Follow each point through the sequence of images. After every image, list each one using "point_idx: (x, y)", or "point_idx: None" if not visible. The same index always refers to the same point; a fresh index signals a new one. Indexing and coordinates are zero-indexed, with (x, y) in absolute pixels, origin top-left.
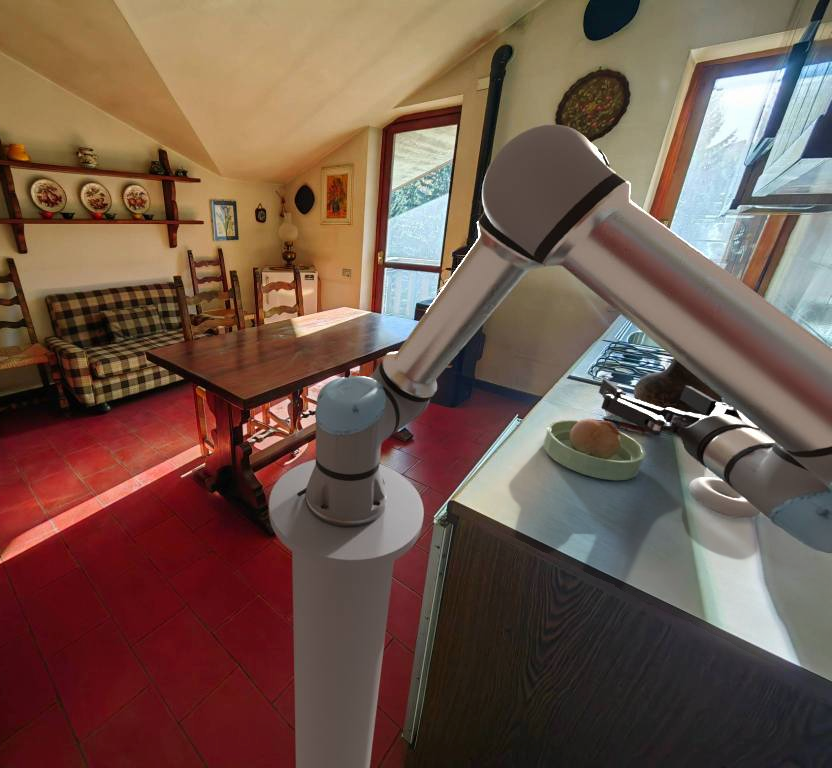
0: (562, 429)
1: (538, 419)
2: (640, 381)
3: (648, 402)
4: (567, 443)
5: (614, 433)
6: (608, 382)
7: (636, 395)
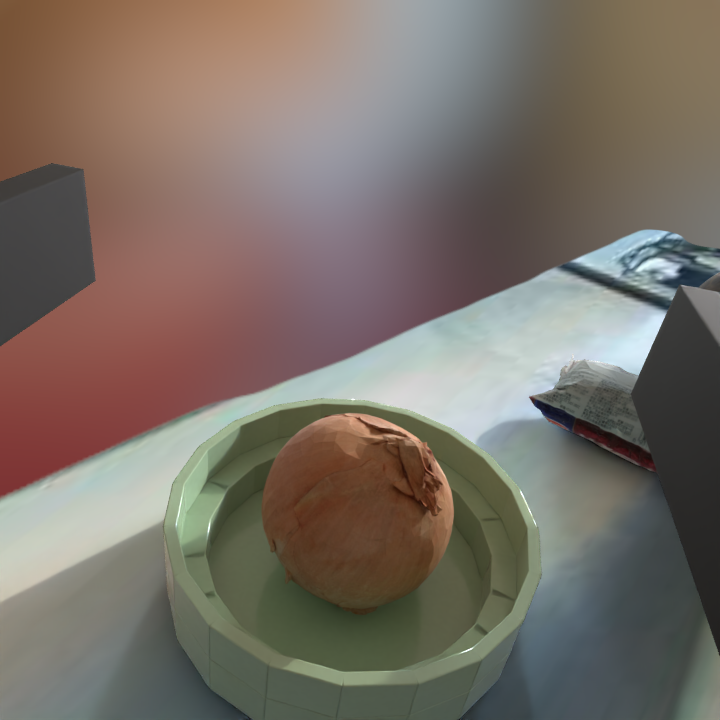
0: None
1: (334, 378)
2: (702, 286)
3: None
4: None
5: (405, 504)
6: (11, 183)
7: None
